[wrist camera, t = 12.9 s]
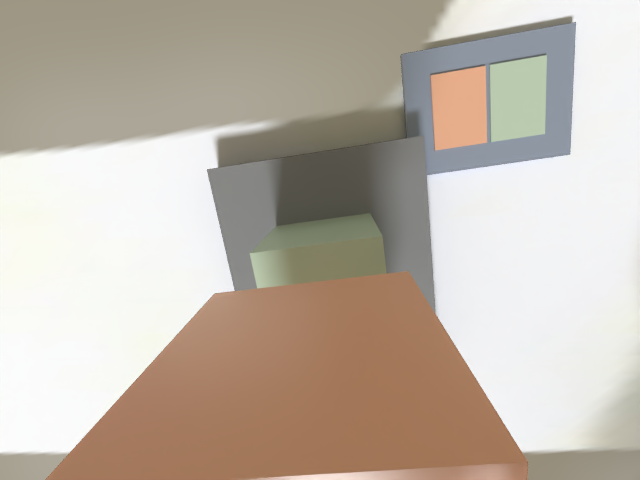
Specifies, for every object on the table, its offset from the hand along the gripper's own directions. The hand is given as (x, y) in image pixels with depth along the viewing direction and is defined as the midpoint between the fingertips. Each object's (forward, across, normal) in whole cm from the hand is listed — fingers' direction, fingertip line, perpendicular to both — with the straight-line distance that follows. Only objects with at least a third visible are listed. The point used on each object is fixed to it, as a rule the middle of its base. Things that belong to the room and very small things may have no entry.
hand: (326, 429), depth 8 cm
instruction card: (+11, -9, -8) cm, 16 cm away
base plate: (+11, 0, 0) cm, 11 cm away
